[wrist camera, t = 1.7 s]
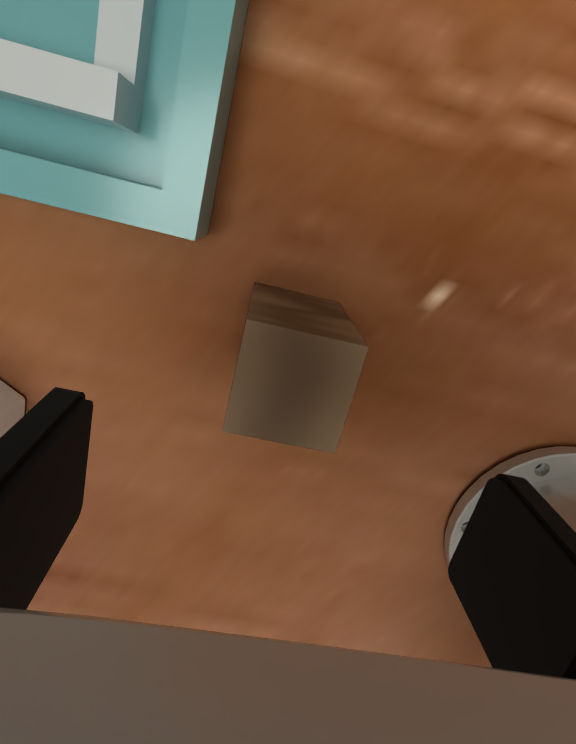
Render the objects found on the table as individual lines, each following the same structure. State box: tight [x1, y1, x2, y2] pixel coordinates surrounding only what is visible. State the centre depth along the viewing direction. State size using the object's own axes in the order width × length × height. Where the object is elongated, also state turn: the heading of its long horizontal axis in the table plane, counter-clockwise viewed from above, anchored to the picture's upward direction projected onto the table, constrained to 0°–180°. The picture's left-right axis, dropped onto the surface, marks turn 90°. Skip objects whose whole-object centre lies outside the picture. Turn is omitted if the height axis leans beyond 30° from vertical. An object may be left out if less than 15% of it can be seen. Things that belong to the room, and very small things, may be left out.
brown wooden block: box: [222, 282, 369, 454], centre depth 21 cm, size 4×4×8 cm
